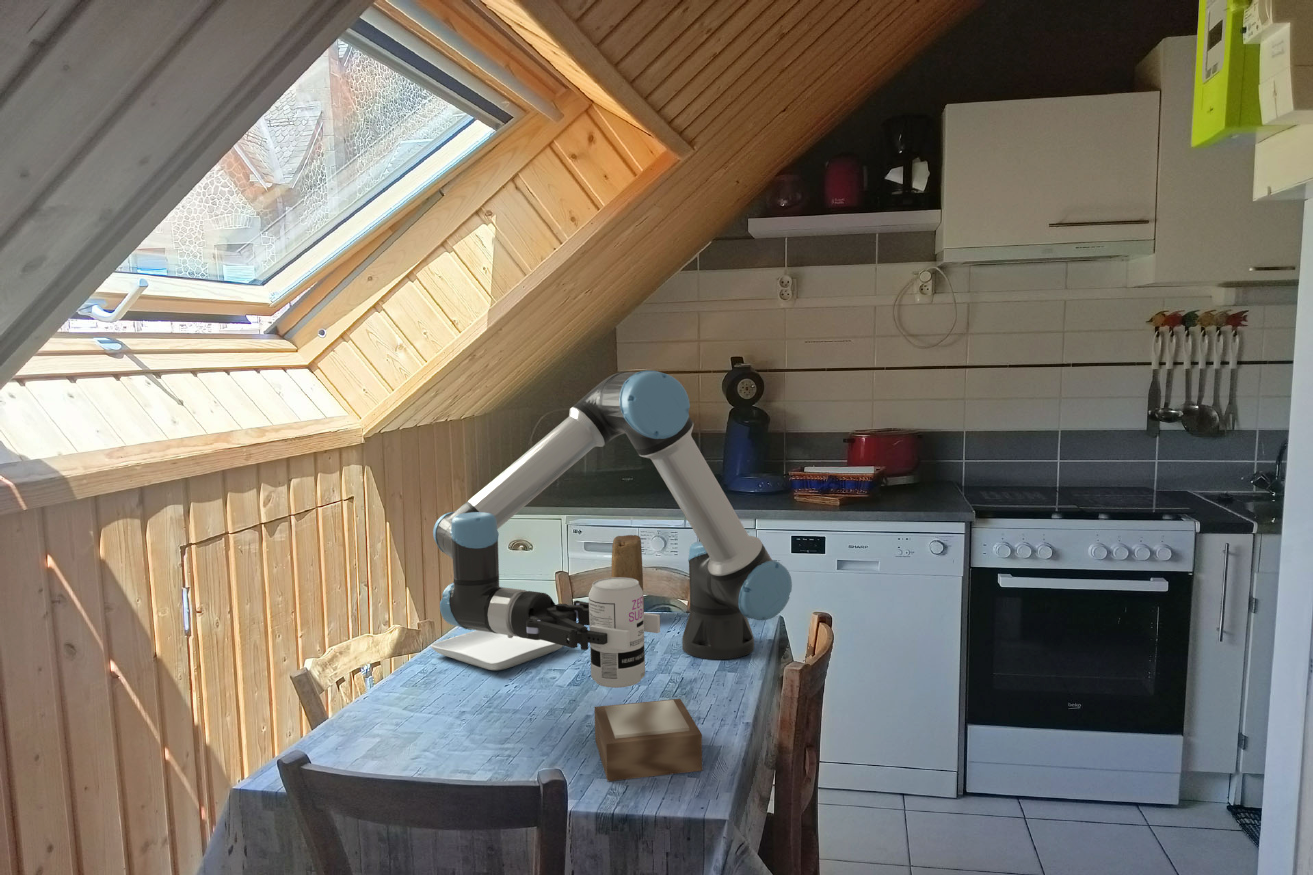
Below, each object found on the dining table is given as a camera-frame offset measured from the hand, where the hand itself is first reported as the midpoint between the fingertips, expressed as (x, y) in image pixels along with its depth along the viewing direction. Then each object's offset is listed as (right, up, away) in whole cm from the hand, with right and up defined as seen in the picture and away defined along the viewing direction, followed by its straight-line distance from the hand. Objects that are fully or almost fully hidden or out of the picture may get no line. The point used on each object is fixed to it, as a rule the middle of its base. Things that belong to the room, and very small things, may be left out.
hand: (643, 631), depth 127 cm
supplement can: (-4, -8, +3) cm, 10 cm away
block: (-5, -14, +74) cm, 76 cm away
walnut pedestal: (0, -20, +3) cm, 20 cm away
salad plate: (-31, -17, +52) cm, 63 cm away
